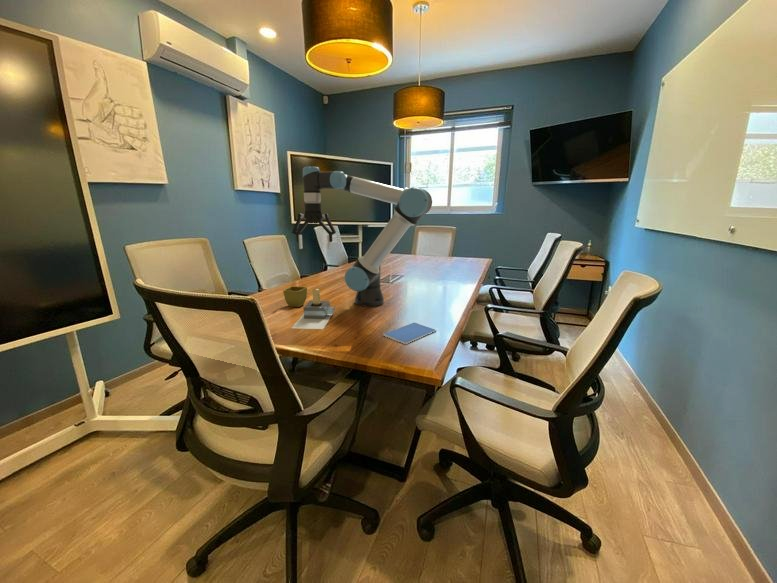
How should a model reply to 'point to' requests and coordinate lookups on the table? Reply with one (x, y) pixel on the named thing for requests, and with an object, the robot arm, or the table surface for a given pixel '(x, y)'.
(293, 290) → the flower pot
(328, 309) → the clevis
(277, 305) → the table surface
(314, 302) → the brass pin
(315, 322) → the mounting plate
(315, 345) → the table surface
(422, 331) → the tablet computer
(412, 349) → the table surface
